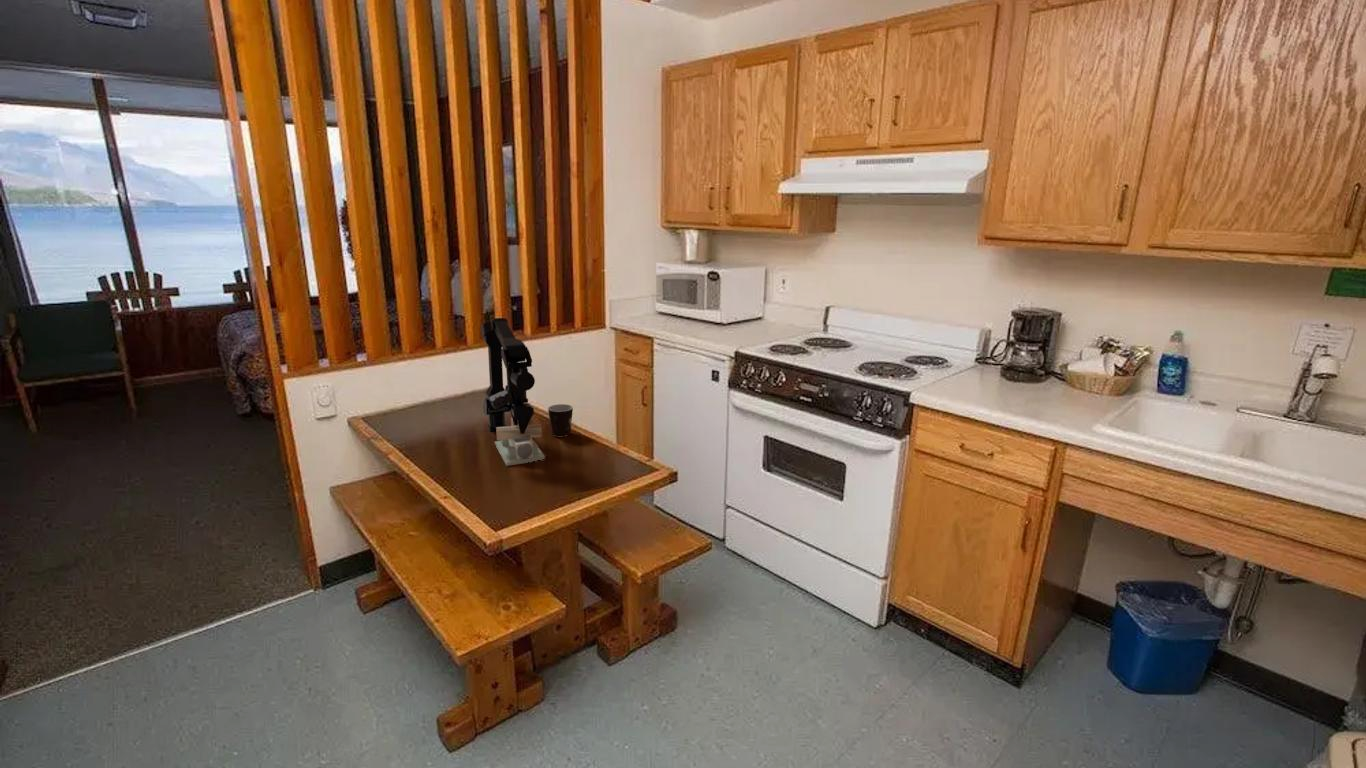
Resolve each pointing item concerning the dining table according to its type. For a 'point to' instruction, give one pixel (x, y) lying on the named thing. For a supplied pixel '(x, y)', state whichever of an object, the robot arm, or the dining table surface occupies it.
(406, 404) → the dining table surface
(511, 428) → the tan rectangular block
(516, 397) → the robot arm
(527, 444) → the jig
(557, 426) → the coffee mug
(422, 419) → the dining table surface
